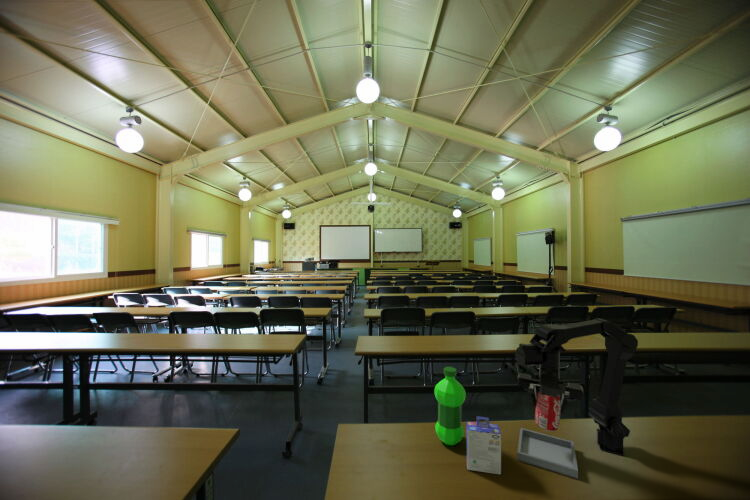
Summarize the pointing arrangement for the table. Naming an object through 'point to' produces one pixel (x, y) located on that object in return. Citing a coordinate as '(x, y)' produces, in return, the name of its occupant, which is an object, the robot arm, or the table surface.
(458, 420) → the plastic bottle
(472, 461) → the ink cartridge box
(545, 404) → the soda can
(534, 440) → the tray
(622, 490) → the table surface
